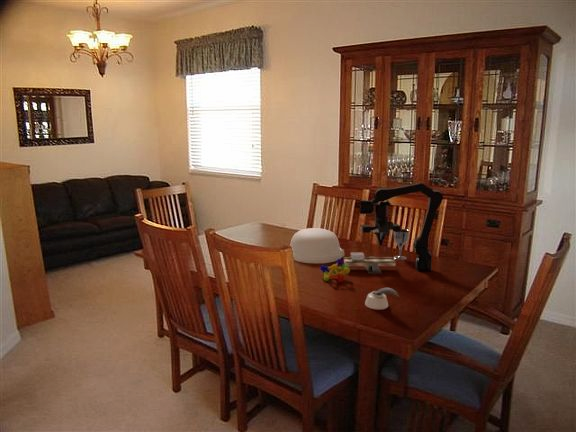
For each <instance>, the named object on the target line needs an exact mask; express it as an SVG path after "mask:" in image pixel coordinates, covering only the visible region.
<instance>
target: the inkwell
mask: <svg viewBox="0 0 576 432" xmlns="http://www.w3.org/2000/svg"><path fill="white" fill-rule="evenodd" d="M386 294H392V295H394V296H396V297H398V298H400V294H399V293H398V292H397V291H396V290H395V289H394V288H390V287H383V288H382V287H381V288H380V289H378V290H373V291H371V292H369V293H368V294H367V295H366V299H365V301H364V305H365V307H367V308H369V309H372V310H380V311H381V310H386V309H387V308H388V307H389V302H388V298H387V295H386Z"/></svg>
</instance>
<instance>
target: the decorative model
mask: <svg viewBox="0 0 576 432" xmlns="http://www.w3.org/2000/svg"><path fill="white" fill-rule="evenodd" d="M340 265H341V266H340ZM319 269H320V270H321V271H322V272H323V275H324V276H323V280H324V281H325V282H327V281H329V280H337V281H338V283H340V284H342V283H343V282H344V277H346V275H347V274H349V273H350V271H351V269H350V266H345V264H344V262H343V260H342V258H341V259H337V261H336V263H334V264H332V265H330V266H326V265H321V266H320V268H319ZM329 269H330V270H329Z"/></svg>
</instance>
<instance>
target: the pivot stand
mask: <svg viewBox="0 0 576 432" xmlns="http://www.w3.org/2000/svg"><path fill="white" fill-rule="evenodd" d="M368 257H375V256H374V255H369V256H368ZM364 267H365V269H366V271H367V273H368V274H369V275H370V274H371V275H377V274H378V275H379V274H382V270H381V268H380V266H378V262H372V266H364Z"/></svg>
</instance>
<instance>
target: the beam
mask: <svg viewBox="0 0 576 432" xmlns="http://www.w3.org/2000/svg"><path fill="white" fill-rule="evenodd" d="M393 257H394V256H393ZM393 257H392V256H374V257H369V256H364V261H351V259H350V258H351V256H349V257H347V256H344V257H343V264H344V265H345V266H346V267H365V266H372V262H378V267H395V266H397V265H396V264H397V263H396V262H397V261H396V260H395V259H394V258H393Z"/></svg>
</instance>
